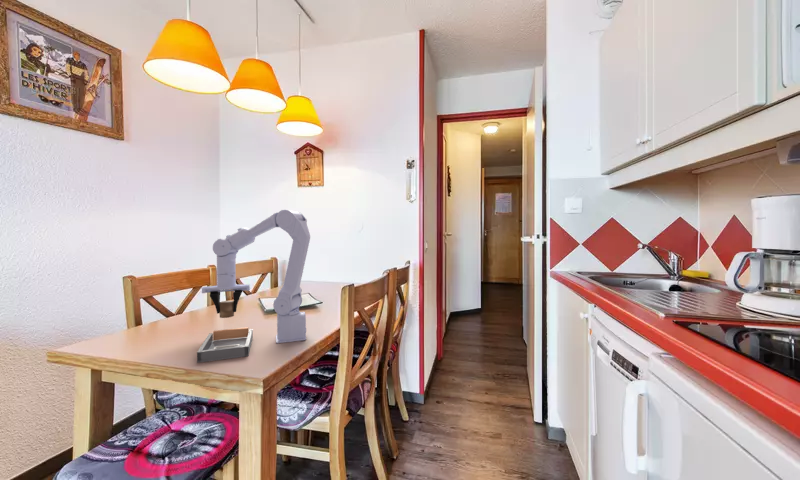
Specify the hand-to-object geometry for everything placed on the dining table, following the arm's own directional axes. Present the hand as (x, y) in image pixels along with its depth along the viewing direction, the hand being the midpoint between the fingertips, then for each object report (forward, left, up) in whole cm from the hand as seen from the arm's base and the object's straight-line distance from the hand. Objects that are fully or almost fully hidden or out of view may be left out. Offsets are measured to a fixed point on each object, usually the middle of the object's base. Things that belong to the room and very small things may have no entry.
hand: (226, 312), depth 109 cm
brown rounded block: (0, 0, -1) cm, 1 cm away
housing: (-2, +13, -8) cm, 16 cm away
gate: (-2, +5, -8) cm, 10 cm away
